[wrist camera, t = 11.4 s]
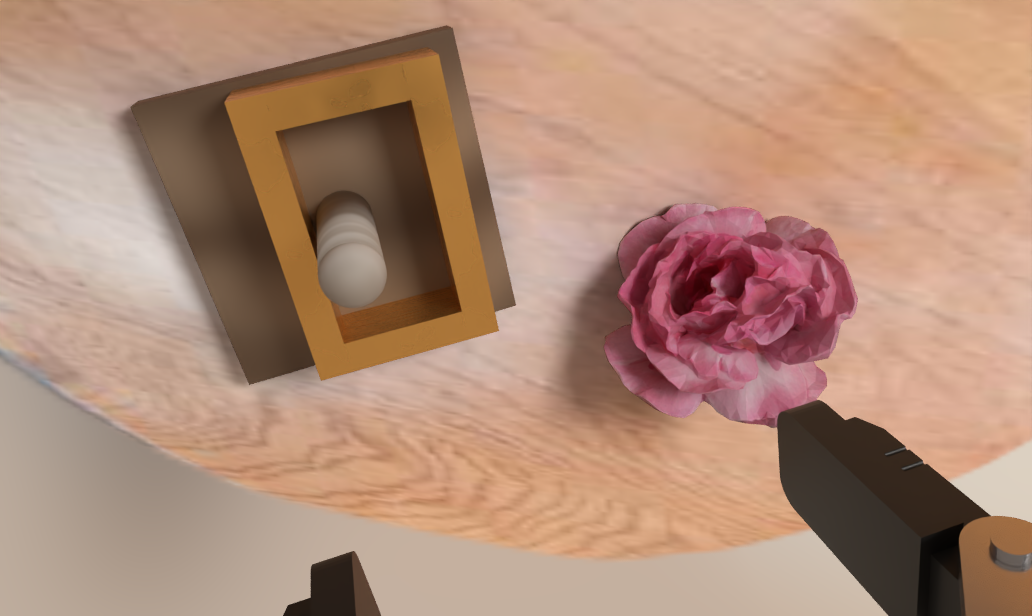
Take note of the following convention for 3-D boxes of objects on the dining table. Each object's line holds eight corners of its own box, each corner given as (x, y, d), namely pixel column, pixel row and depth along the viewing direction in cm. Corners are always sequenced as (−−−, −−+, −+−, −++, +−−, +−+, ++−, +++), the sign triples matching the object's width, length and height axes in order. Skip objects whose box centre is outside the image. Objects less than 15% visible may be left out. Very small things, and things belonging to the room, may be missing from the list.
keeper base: (138, 101, 31) (71, 152, 22) (446, 25, 33) (495, 45, 24) (251, 369, 37) (233, 492, 28) (508, 293, 38) (566, 387, 30)
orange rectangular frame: (231, 90, 30) (224, 102, 28) (427, 46, 31) (438, 54, 29) (320, 349, 36) (321, 380, 33) (485, 304, 37) (498, 330, 34)
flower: (570, 230, 41) (666, 159, 32) (724, 236, 45) (851, 173, 36) (590, 442, 39) (698, 430, 30) (750, 431, 43) (892, 418, 34)
